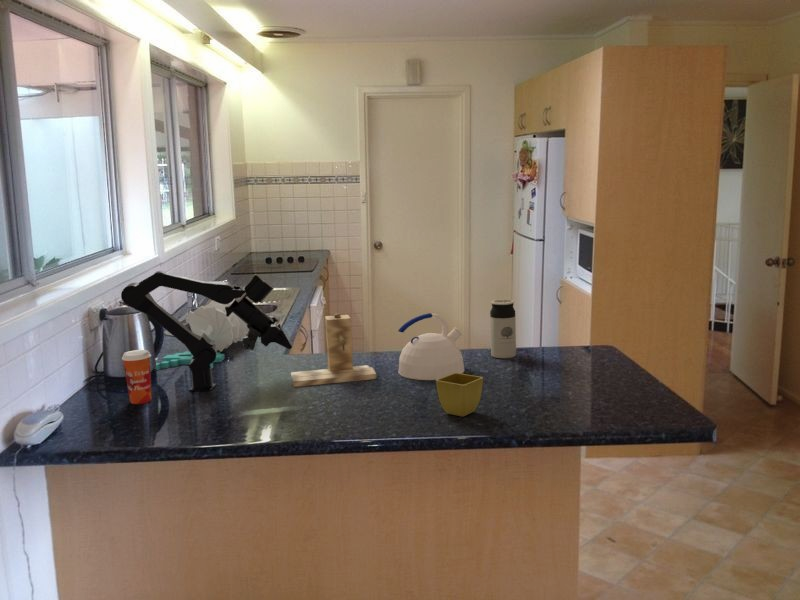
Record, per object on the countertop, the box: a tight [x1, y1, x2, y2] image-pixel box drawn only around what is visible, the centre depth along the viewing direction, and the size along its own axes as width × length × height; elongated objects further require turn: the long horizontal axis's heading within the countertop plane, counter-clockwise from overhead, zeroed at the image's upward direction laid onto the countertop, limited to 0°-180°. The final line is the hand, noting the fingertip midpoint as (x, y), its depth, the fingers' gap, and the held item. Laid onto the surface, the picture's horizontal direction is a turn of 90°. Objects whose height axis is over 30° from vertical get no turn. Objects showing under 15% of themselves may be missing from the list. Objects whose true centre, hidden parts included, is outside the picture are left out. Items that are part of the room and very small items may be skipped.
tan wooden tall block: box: [324, 313, 354, 371], centre depth 219 cm, size 7×16×18 cm, turn 11°
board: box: [290, 364, 377, 388], centre depth 221 cm, size 24×16×2 cm, turn 102°
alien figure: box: [155, 350, 225, 371], centre depth 249 cm, size 20×2×20 cm
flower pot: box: [435, 373, 484, 417], centre depth 185 cm, size 9×9×9 cm
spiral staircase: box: [185, 299, 249, 353], centre depth 269 cm, size 18×18×25 cm
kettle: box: [397, 312, 465, 381], centre depth 224 cm, size 20×21×18 cm
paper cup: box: [121, 349, 152, 405], centre depth 206 cm, size 8×8×14 cm
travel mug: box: [489, 298, 517, 359], centre depth 238 cm, size 8×8×18 cm
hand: (291, 348), depth 221 cm, fingers closed
